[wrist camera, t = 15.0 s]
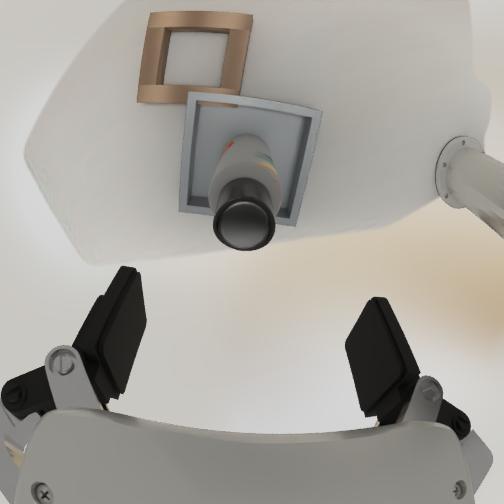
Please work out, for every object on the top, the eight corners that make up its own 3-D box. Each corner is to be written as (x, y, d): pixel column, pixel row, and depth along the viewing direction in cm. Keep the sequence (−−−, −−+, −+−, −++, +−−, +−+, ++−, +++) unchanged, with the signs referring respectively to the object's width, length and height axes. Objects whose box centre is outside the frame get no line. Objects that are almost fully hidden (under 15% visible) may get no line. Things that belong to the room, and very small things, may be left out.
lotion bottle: (218, 168, 34) (187, 254, 17) (232, 127, 31) (210, 171, 14) (260, 181, 35) (271, 277, 18) (275, 141, 32) (307, 203, 15)
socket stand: (252, 21, 24) (253, 14, 22) (237, 106, 31) (236, 108, 28) (157, 18, 23) (150, 12, 20) (145, 101, 29) (136, 102, 27)
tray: (314, 109, 31) (322, 111, 27) (291, 213, 39) (295, 226, 35) (195, 91, 29) (188, 91, 26) (184, 199, 37) (178, 211, 34)
